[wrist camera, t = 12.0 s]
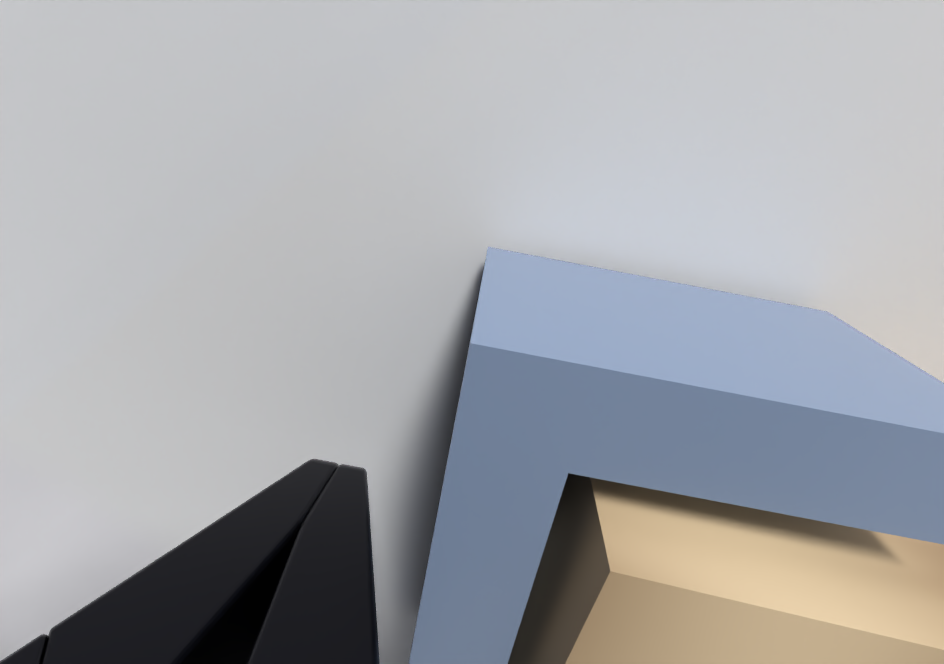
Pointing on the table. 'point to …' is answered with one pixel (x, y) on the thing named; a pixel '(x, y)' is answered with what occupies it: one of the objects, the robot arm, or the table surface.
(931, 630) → the slat
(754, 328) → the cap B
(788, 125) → the table surface
